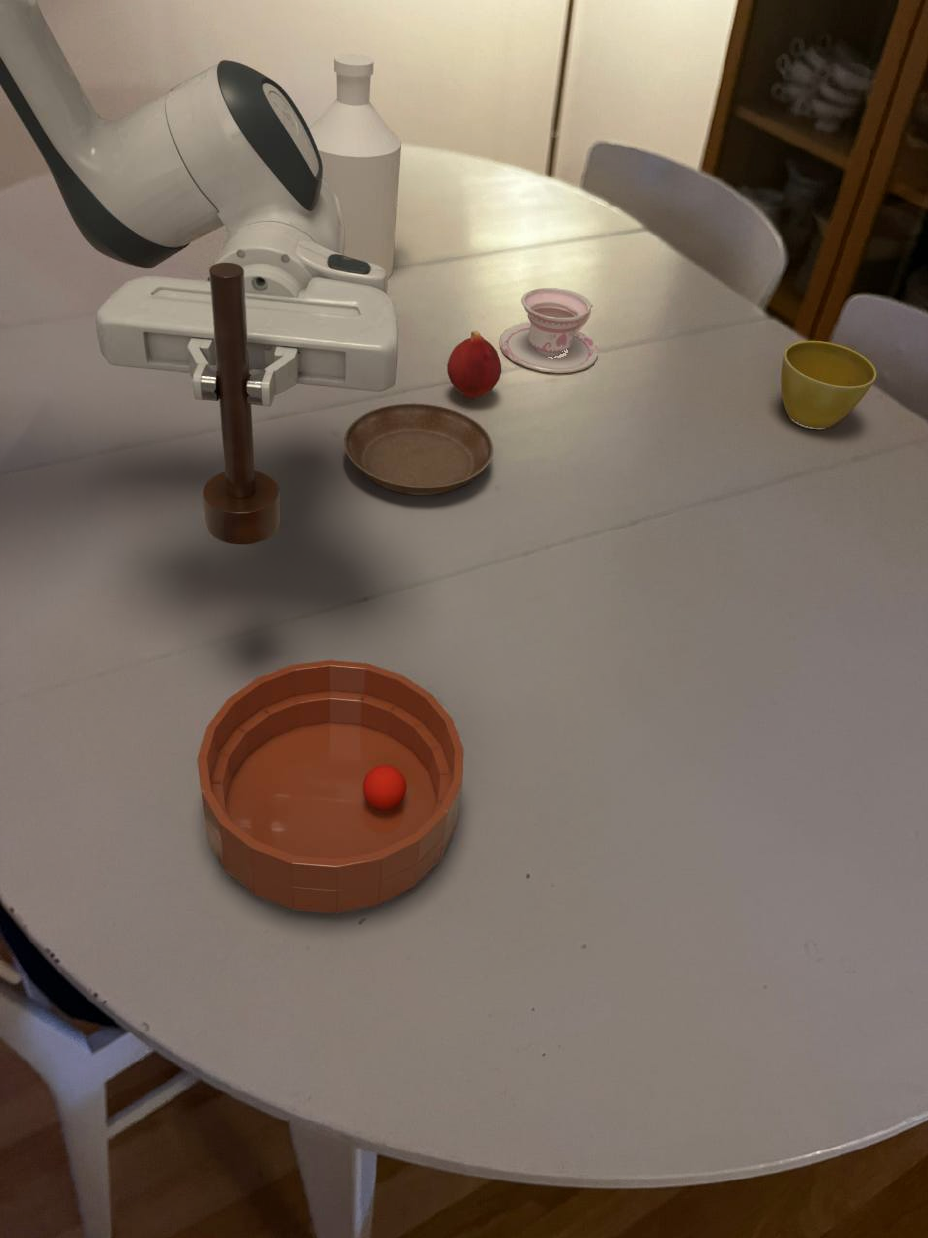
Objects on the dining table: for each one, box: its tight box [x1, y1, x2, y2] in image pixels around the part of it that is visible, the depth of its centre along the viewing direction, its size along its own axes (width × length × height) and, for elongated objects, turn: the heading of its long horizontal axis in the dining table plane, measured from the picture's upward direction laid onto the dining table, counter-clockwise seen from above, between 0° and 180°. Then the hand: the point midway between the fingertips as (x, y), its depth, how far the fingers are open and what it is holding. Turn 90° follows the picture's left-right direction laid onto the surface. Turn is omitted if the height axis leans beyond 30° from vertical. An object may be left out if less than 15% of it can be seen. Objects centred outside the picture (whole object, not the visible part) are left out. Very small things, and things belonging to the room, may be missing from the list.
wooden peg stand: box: [202, 263, 281, 546], centre depth 67 cm, size 5×5×19 cm
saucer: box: [343, 403, 494, 496], centre depth 102 cm, size 15×15×3 cm
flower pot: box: [780, 340, 877, 429], centre depth 115 cm, size 10×10×7 cm
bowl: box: [196, 659, 465, 914], centre depth 69 cm, size 17×17×6 cm
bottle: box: [308, 53, 402, 280], centre depth 126 cm, size 12×12×25 cm
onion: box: [446, 330, 502, 400], centre depth 111 cm, size 6×6×8 cm
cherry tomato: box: [363, 765, 406, 809], centre depth 70 cm, size 3×3×3 cm
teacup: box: [499, 287, 599, 374], centre depth 121 cm, size 12×12×6 cm
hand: (231, 393), depth 65 cm, fingers closed on wooden peg stand
